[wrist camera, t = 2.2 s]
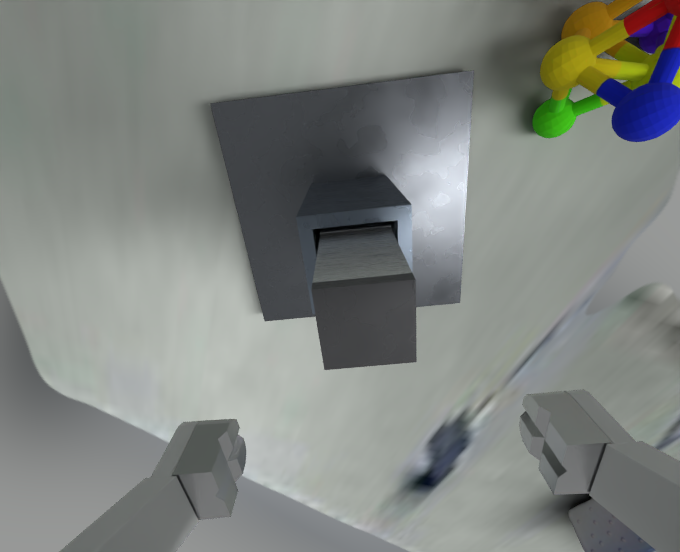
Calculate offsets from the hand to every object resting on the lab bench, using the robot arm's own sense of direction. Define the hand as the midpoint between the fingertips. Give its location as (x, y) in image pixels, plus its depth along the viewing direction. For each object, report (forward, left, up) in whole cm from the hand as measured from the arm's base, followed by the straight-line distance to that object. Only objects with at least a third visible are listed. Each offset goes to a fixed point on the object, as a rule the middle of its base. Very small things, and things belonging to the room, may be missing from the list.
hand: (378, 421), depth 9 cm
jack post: (0, 0, -21) cm, 21 cm away
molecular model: (-10, +19, -23) cm, 32 cm away
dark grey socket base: (0, 0, -23) cm, 23 cm away
